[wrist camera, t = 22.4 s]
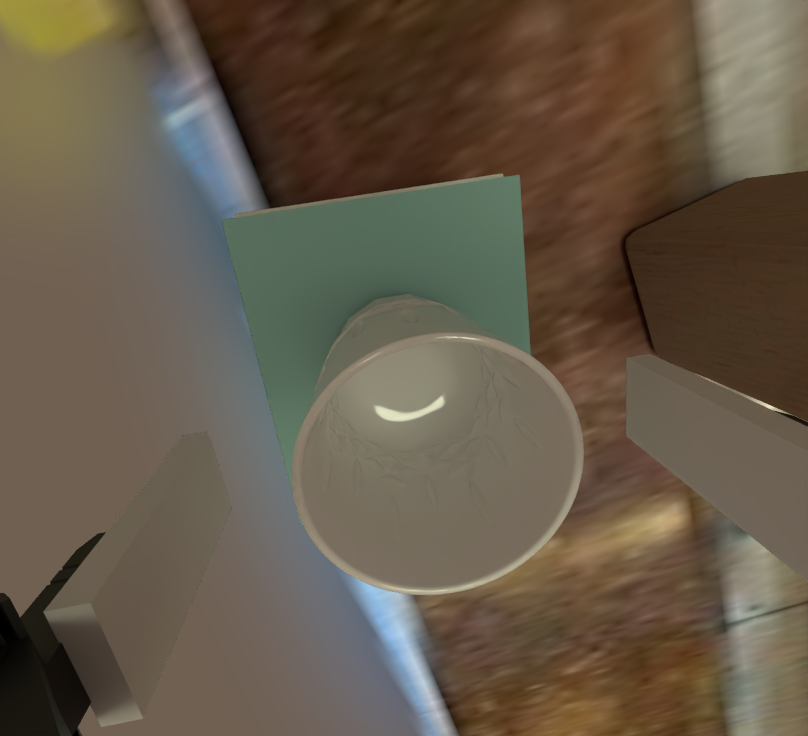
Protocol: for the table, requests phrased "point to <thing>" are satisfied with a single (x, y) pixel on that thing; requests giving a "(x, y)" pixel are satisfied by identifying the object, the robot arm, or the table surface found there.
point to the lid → (373, 275)
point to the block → (733, 288)
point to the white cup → (433, 451)
